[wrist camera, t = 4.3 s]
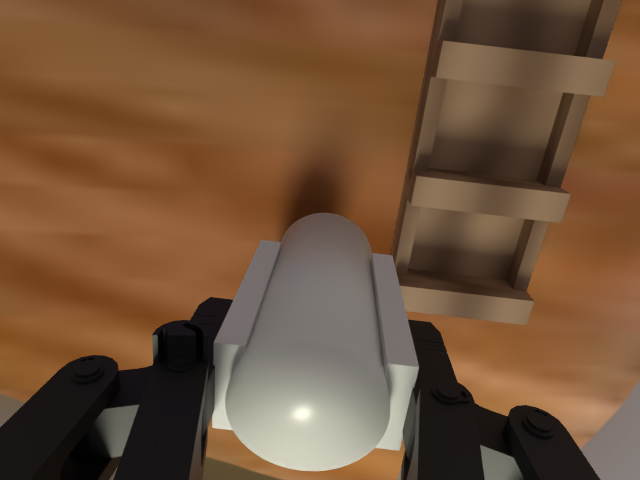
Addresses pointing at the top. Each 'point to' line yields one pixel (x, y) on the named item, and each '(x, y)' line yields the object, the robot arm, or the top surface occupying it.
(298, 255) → the plug grey
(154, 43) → the top surface
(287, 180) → the top surface
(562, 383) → the top surface
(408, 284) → the comb rack
